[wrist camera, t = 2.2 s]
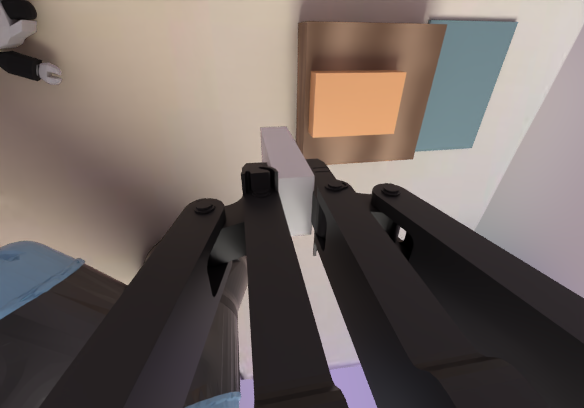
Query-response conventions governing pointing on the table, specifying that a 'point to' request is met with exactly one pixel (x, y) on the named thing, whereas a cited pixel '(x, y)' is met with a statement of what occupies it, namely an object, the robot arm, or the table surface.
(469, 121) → the mat
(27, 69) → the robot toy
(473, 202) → the table surface
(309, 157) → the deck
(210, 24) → the table surface
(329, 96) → the tile
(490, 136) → the table surface
